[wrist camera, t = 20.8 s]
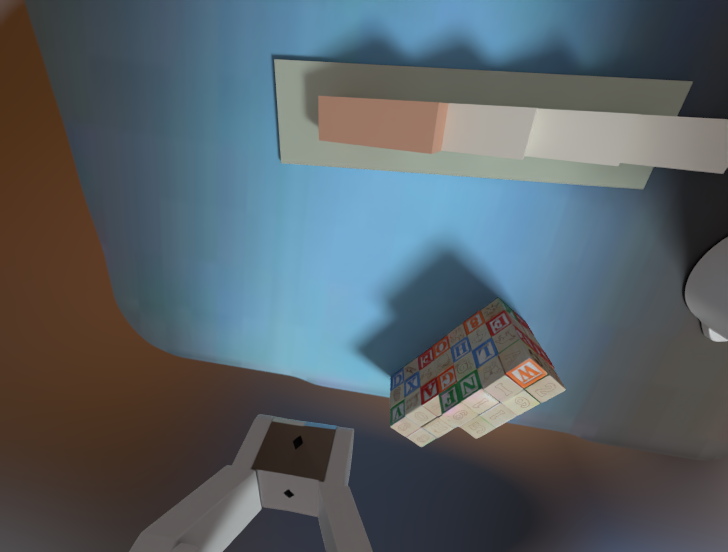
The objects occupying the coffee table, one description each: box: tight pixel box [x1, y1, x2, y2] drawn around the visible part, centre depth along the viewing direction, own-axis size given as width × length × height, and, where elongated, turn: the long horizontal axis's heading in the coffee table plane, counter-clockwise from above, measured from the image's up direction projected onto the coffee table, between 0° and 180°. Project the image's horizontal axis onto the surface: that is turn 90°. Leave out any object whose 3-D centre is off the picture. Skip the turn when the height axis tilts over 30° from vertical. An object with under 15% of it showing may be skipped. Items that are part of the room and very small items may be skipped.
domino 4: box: [620, 114, 728, 174], centre depth 29 cm, size 3×4×12 cm
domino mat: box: [274, 59, 693, 189], centre depth 34 cm, size 40×10×1 cm, turn 87°
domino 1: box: [318, 96, 449, 154], centre depth 31 cm, size 3×4×12 cm
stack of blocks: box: [390, 298, 565, 447], centre depth 43 cm, size 21×6×12 cm, turn 139°
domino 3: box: [525, 108, 640, 166], centre depth 30 cm, size 3×4×12 cm
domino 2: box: [441, 103, 538, 160], centre depth 30 cm, size 3×4×12 cm
